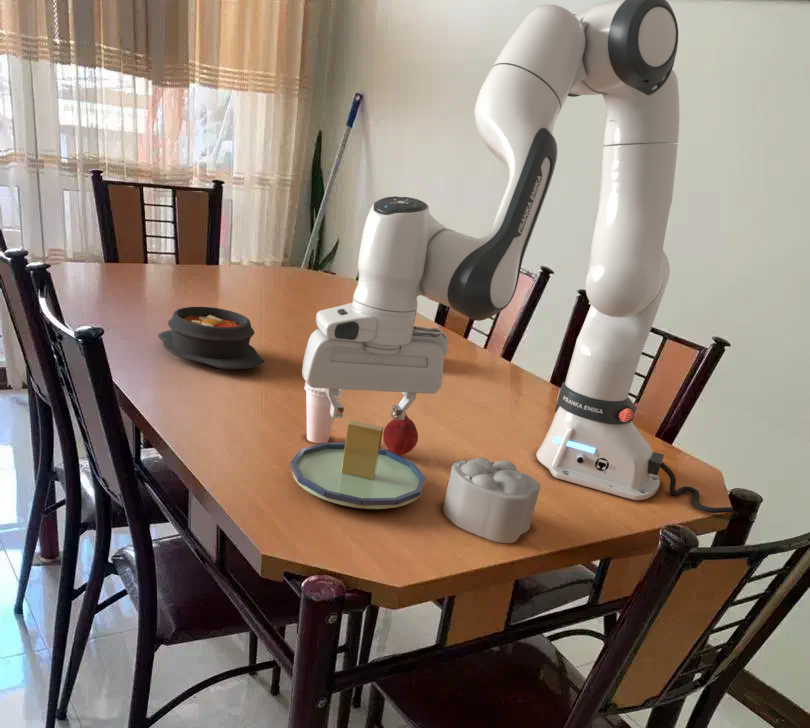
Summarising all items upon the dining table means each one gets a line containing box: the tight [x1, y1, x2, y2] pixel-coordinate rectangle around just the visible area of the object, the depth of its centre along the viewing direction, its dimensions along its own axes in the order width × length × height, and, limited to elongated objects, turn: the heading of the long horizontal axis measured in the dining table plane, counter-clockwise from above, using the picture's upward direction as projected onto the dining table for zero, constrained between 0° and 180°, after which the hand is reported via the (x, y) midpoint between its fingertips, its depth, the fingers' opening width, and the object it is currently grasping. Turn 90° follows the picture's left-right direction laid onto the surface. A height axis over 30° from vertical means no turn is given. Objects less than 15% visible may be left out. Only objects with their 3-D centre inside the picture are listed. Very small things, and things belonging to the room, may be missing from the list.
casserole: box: [157, 306, 265, 370], centre depth 163 cm, size 25×19×8 cm
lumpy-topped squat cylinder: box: [442, 457, 541, 544], centre depth 119 cm, size 10×13×9 cm
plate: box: [289, 419, 427, 510], centre depth 120 cm, size 20×20×9 cm
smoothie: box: [303, 381, 344, 444], centre depth 134 cm, size 6×6×14 cm
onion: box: [382, 411, 419, 456], centre depth 135 cm, size 6×6×8 cm
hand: (367, 417), depth 117 cm, fingers open, 8 cm apart
